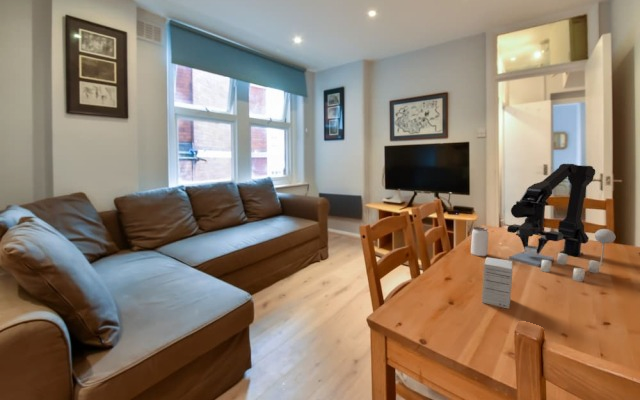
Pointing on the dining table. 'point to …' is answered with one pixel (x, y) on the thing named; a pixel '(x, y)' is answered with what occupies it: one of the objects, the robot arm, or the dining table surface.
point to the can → (479, 241)
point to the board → (530, 259)
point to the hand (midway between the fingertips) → (532, 251)
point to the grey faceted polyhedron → (531, 250)
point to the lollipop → (604, 238)
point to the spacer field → (578, 272)
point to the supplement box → (497, 282)
